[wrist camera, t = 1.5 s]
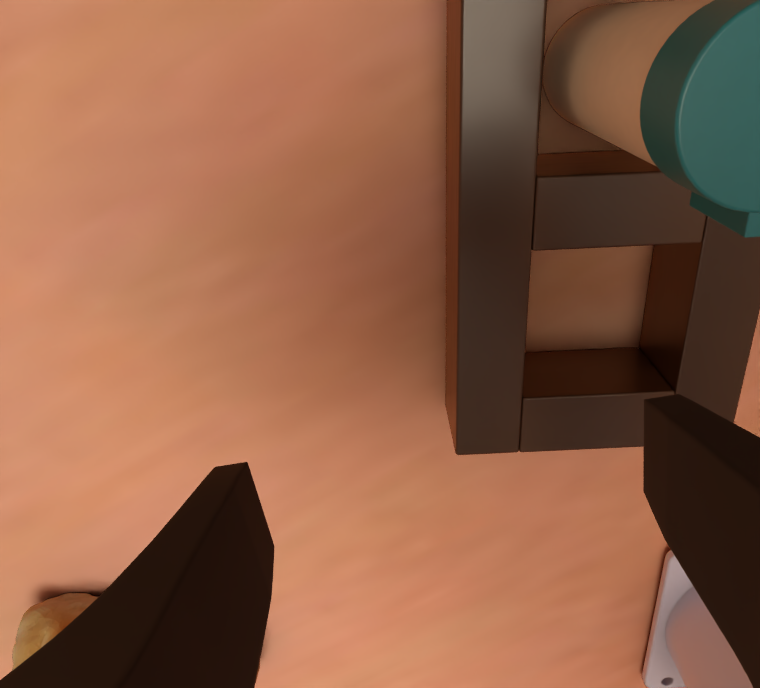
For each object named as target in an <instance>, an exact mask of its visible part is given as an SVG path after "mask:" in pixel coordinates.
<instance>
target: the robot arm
mask: <svg viewBox="0 0 760 688" xmlns="http://www.w3.org/2000/svg"><path fill="white" fill-rule="evenodd" d="M644 493H645V495H646V498H647V500H648V502H649V505H650V507H651V509H652V512H653V514H654V516H655V519H656V521H657V523H658V525H659V527H660V529H661V532H662V534H663V536H664V538H665V540H666V542H667V544H668V545H669V547H670V549H671V550H670V551H669V552H668V553H667V554H666V556H665V561H664V566H663V571H662V576H661V581H660V586H659V591H658V596H657V601H656V606H655V611H654V616H653V621H652V627H651V632H650V637H649V642H648V647H647V652H646V657H645V662H644V667H643V672H642V679H643V681H644V684H645V685H646V686H647V687H649V688H679V687H686V688H760V438H759V437H758V436H756V435H754V434H752V433H750V432H748V431H747V430H745V429H743V428H741V427H739V426H737V425H736V424H734V423H732V422H730V421H728V420H727V419H725V418H723V417H721V416H719V415H718V414H716V413H714V412H712V411H710V410H709V409H707V408H705V407H703V406H701V405H700V404H698V403H696V402H694V401H692V400H690V399H688V398H686V397H684V396H682V395H680V394H676V395H669V396H663V397H657V398H650V399H644ZM273 563H274V544H273V541H272V537H271V534H270V531H269V528H268V525H267V522H266V519H265V516H264V512H263V509H262V506H261V503H260V500H259V497H258V494H257V491H256V488H255V484H254V481H253V478H252V475H251V472H250V469H249V466H248V463H247V462H244V463H237V464H231V465H225V466H218V467H215V468H214V469H213V470H212V471H211V472H210V473H209V474H208V475H207V477H206V478H205V479H204V480H203V481H202V482H201V484H200V485H199V486H198V487H197V488H196V490H195V491H194V492H193V493H192V494H191V496H190V497H189V498H188V499H187V500H186V502H185V503H184V504H183V505H182V506H181V508H180V509H179V510H178V511H177V512H176V514H175V515H174V516H173V517H172V518H171V519H170V521H169V522H168V523H167V524H166V525H165V526H164V528H163V529H162V530H161V531H160V532H159V533H158V535H157V536H156V537H155V538H154V539H153V540H152V541H151V543H150V544H149V545H148V546H147V547H146V548H145V549H144V550H143V551H142V552H141V553H140V554H139V555H138V557H137V558H136V559H135V560H134V561H133V562H132V563H131V564H130V565H129V566H128V567H127V568H126V569H125V570H124V571H123V572H122V574H121V575H120V576H119V577H118V578H117V579H116V580H115V581H114V582H113V583H112V584H111V585H110V586H109V587H108V588H107V589H106V590H105V591H104V592H103V593H102V594H101V595H100V596H99V597H98V598H97V599H96V600H95V601H94V602H93V603H92V604H91V605H90V606H89V607H87V608H86V609H85V610H84V611H83V612H82V613H81V614H80V615H79V616H78V617H76V618H75V619H74V620H73V621H72V622H71V623H70V624H69V625H68V626H66V627H65V628H64V629H63V630H62V631H61V632H60V633H58V634H57V635H56V636H55V637H54V638H53V639H51V640H50V641H49V642H48V643H46V644H45V645H44V646H43V647H41V648H40V649H39V650H38V651H36V652H35V653H34V654H33V655H31V656H30V657H29V658H28V659H26V660H25V661H24V662H23V663H21V664H20V665H19V666H18V667H16V668H15V669H14V670H13V671H11V672H10V673H9V674H8V675H6V676H5V677H4V678H3V679H1V680H0V688H254V686H255V681H256V676H257V671H258V666H259V661H260V655H261V650H262V645H263V640H264V635H265V629H266V624H267V619H268V613H269V608H270V602H271V595H272V581H273Z"/></svg>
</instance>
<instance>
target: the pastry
mask: <svg viewBox="0 0 760 688" xmlns="http://www.w3.org/2000/svg"><path fill="white" fill-rule="evenodd" d="M97 598H98V597H95V596H91V595H90V594H87V593H68V594H63V595H61V596H58V597H54V598H50V599H47V600H45V601H43V602H42V603H39V604H36V605H34V606H32V607H30V608H29V609H28V610H27V611H26V613H25V614H24V615H23V617H22V620H21V622H20V625H19V628H18V632H17V636H16V643H15V645H14V647H13V654H12V659H13V669H12V671H13V670H14V669H15V668H16V667H18V666H19V665H20V664H21V663H23V662H24V661H25V660H26V659H28V658H29V657H30V656H31V655H33V654H34V653H35V652H36V651H38V650H39V649H40V648H41V647H43V646H44V645H45V644H46V643H48V642H49V641H50V640H51V639H53V638H54V637H55V636H56V635H57V634H58V633H60V632H61V631H62V630H63V629H64V628H65V627H66V626H68V625H69V624H70V623H71V622H72V621H73V620H74V619H75V618H76V617H78V616H79V615H80V614H81V613H82V612H83V611H84V610H85V609H86V608H87V607H89V606H90V605H91V604H92V603H93V602H94V601H95V600H96V599H97ZM259 668H260V661H259V666H258V671H259ZM258 671H257V675H258ZM256 679H257V676H256ZM255 683H256V681H255Z"/></svg>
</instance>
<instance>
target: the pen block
mask: <svg viewBox="0 0 760 688" xmlns="http://www.w3.org/2000/svg"><path fill="white" fill-rule="evenodd" d="M546 9H547V0H447V56H446V393H445V405H446V410H447V415H448V419H449V424H450V429H451V434H452V438H453V443H454V448H455V452H456V454H457V455H469V454H490V453H511V452H518V451H520V452H536V451H557V450H579V449H600V448H621V447H642V446H644V399H650V398H657V397H663V396H669V395H676V394H680V395H682V396H684V397H686V398H688V399H690V400H692V401H694V402H696V403H698V404H700V405H701V406H703V407H705V408H707V409H709V410H710V411H712V412H714V413H716V414H718V415H719V416H721V417H723V418H725V419H727V420H728V421H730V422H732V423H734V419H735V414H736V410H737V406H738V401H739V397H740V393H741V388H742V384H743V379H744V375H745V371H746V366H747V362H748V358H749V353H750V349H751V345H752V340H753V336H754V332H755V327H756V323H757V319H758V314H759V310H760V237H748V238H745V237H743V236H741V235H739V234H738V233H736V232H734V231H732V230H731V229H729V228H727V227H726V226H724V225H722V224H720V223H719V222H717V221H715V220H713V219H712V218H710V217H708V216H707V215H705V214H703V213H701V212H700V211H698V210H696V209H694V208H693V207H691V206H690V198H691V192H692V191H690V190H688V189H686V188H685V187H683V186H681V185H679V184H677V183H675V182H674V181H672V180H671V179H669V178H668V177H667V176H666V175H665V174H663V173H662V172H661V171H660V170H659V169H658V167H657V166H655V165H653V164H651V163H649V162H647V161H645V160H643V159H641V158H639V157H637V156H635V155H633V154H631V153H629V152H627V151H625V150H622V151H600V152H578V153H557V154H538V138H539V122H540V106H541V90H542V74H543V58H544V42H545V26H546ZM644 245H654V251H653V258H652V264H651V271H650V278H649V285H648V292H647V298H646V305H645V312H644V319H643V326H642V332H641V339H640V346H639V348H618V349H597V350H576V351H555V352H533V353H525V346H526V330H527V314H528V298H529V282H530V266H531V250H534V251H537V250H558V249H579V248H601V247H622V246H644Z"/></svg>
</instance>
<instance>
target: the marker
mask: <svg viewBox="0 0 760 688" xmlns="http://www.w3.org/2000/svg"><path fill="white" fill-rule="evenodd" d="M543 85H544V90H545V93H546V96H547V98H548V101H549V102H550V104H551V106H552V107H553V109H554V110H555V111H556V112H557V113H558V114H559V115H560V116H561V117H562V118H564V119H565V120H566V121H568V122H570V123H572V124H574V125H576V126H578V127H580V128H582V129H584V130H586V131H588V132H590V133H592V134H594V135H596V136H598V137H600V138H602V139H603V140H605V141H607V142H609V143H611V144H613V145H615V146H617V147H619V148H621V149H623V150H625V151H627V152H629V153H631V154H633V155H635V156H637V157H639V158H641V159H643V160H645V161H647V162H649V163H651V164H653V165H655V166H657V167H658V169H659V170H660V171H661V172H662V173H663V174H665V175H666V176H667V177H668V178H669V179H671V180H672V181H674V182H675V183H677V184H679V185H681V186H683V187H685V188H686V189H688V190H690V191H692V192H691V198H690V206H691V207H693V208H694V209H696V210H698V211H700V212H701V213H703V214H705V215H707V216H708V217H710V218H712V219H713V220H715V221H717V222H719V223H720V224H722V225H724V226H726V227H727V228H729V229H731V230H732V231H734V232H736V233H738V234H739V235H741V236H743V237H745V238H748V237H760V0H670V1H651V2H632V3H614V4H601V5H596V6H592V7H589V8H587V9H584V10H582V11H580V12H579V13H577V14H575V15H574V16H573V17H571V18H570V19H569V20H568V21H566V22H565V23H564V24H563V25H562V27H561V28H560V29H559V30H558V31H557V33H556V34H555V36H554V37H553V39H552V41H551V43H550V45H549V47H548V50H547V52H546V55H545V59H544V64H543Z"/></svg>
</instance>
